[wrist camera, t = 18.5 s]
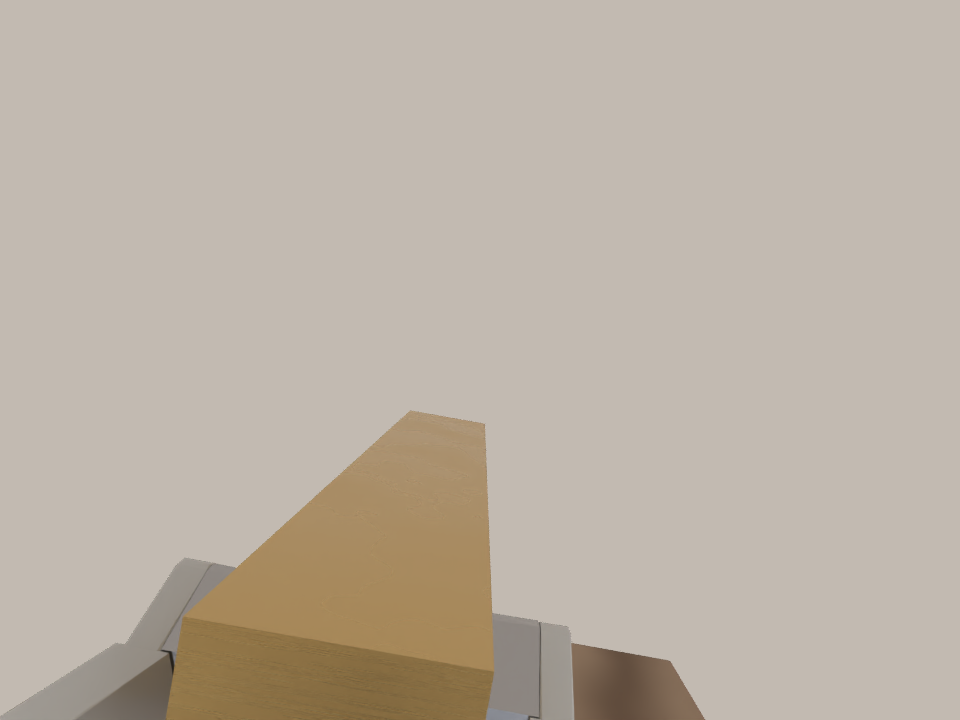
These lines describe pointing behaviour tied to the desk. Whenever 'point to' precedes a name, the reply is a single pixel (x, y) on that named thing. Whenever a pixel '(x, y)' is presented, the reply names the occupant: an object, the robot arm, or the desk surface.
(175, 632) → the robot arm
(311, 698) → the wooden block
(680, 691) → the stand
